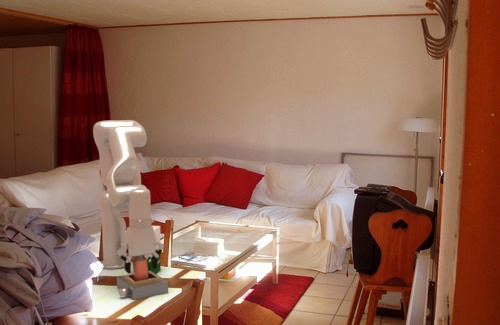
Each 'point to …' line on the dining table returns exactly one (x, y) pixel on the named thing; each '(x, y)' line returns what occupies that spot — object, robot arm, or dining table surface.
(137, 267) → the oil can
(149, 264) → the milk carton
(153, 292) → the grey square socket base
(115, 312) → the dining table surface
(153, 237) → the robot arm
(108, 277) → the dining table surface
